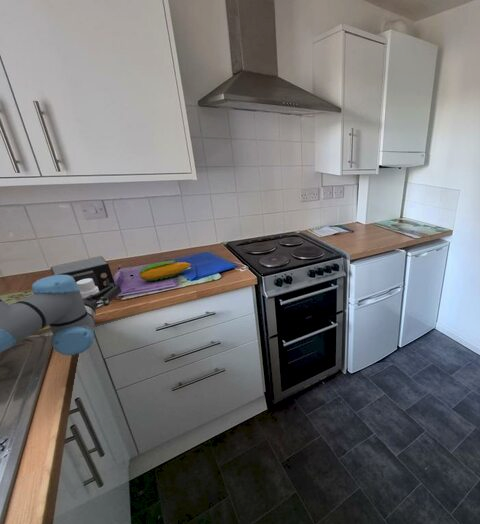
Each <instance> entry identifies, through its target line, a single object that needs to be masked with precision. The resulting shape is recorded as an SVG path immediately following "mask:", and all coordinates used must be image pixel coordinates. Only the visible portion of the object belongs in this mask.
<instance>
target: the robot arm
mask: <svg viewBox="0 0 480 524" xmlns="http://www.w3.org/2000/svg"><path fill="white" fill-rule="evenodd" d="M115 285H116V286H114V284H113V283H110V282H109V279H106V288H105V289H103V290H101V291H100V292H98V293H96V294H94V295H90V296H88V297H86V298H83V299H82V296H81V293H80V289H79V287H78V285H77V283H76V282H75V280H74V278H73V277H72V276H69V275H53V274H52V275H49V276H46V277H45V276H44V277H42V278H39V279H37V280H36V281H35V282H33V283H32V284H31V289H32V291H31V292H32V293H33V294H31V295H29V296H27V297H25V298H22V299H20V300H18V301H16V302H14V303H12V304H8V303H6V302H5V301H4V300H2V299H1V298H0V353H2V352H4V351H6V350H8V349H10V348H13V347H15V345H16V344H18V343H20V342H21V341H23V340H25V339H27V338H28V337H30V336H32V335H33V334H35V333H37V332H38V331H40V330H43V329H45V328H46V327H48V326H49V328H50V331H51V333H52V336H53V337H52V340H51V342H52V348H53V350H54V351H55V352H56V353H58V354H60V355H63V356H75V355H80V354H82V353H84V352H85V351H87V350H88V349H89V348H91V346H92V344H93V342H94V339H95V336H96V335H95V325H96V312H97V308H98V307H97V306H98V305H101V304H103V305H101V306H104V307H108V306H110V304H111V302H112V301H113V300H114V299H115V298H116V297H117V296H118V295H119V294H121V293H122V289H121V286H120V285H121V284H115Z"/></svg>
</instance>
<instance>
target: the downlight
mask: <svg viewBox="0 0 480 524" xmlns="http://www.w3.org/2000/svg"><path fill="white" fill-rule="evenodd" d="M76 283H77V285H78V287H79V289H80V293H81V296H82V299H83V298H86V297H88V296H90V295H94V294H96V293H98V292H99V289H98V287H97V286H95V285H94V282H93V279H91V278H88V279H82V280H79V281H78V282H76ZM101 306H104V305H103V304H101V305H98V306H97V307H96V308H99V307H101Z"/></svg>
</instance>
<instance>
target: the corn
mask: <svg viewBox="0 0 480 524" xmlns="http://www.w3.org/2000/svg"><path fill="white" fill-rule="evenodd" d="M191 265H192V264H191V263H189V262H185V261H183V262H182V261H181V262H177V260H165V261H160V262H156V263H152V264H148V265H146V266H144V267H143V268H142V269H141V270H140V272H139V277H140V279H142V280H143V281H147V282H155V281H160V280H164V279H163V278H165V279H169V278H173V277H176V276H177V275H178V274H180V273H182V272H184V271H186V270H188V269H189V268H191ZM168 277H169V278H168ZM158 279H160V280H158ZM153 280H154V281H153Z"/></svg>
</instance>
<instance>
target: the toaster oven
mask: <svg viewBox="0 0 480 524" xmlns="http://www.w3.org/2000/svg"><path fill="white" fill-rule="evenodd" d="M50 270H51V273H52V276H53V275H69V276H72V277H73V278H74V280H75V282H78V281H79V280H82V279H88V278H91V279H93V282H94V285H95V286H97V287H98V289H99V292H100V291H101V290H103V289H105V288H106V279H109V282H110V283H113V284H114V286H116V285H117V284H116V282H115V280H114V276H113V274H112V270H111V267H110V265H109V263H108V261H106V260H105V258H104V257H103V256H101V255H98V256H94V257H89V258H84V259H80V260H75V261H70V262H66V263H65V262H64V263H60V264H56V265H52V266H50Z"/></svg>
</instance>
